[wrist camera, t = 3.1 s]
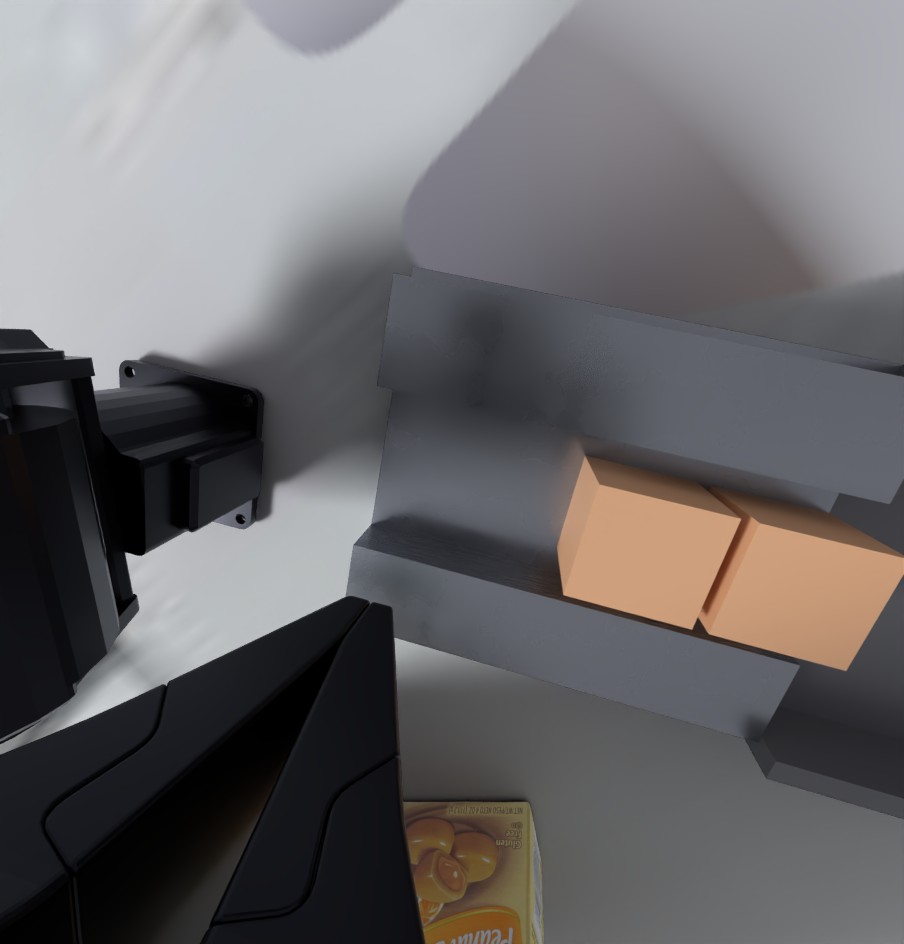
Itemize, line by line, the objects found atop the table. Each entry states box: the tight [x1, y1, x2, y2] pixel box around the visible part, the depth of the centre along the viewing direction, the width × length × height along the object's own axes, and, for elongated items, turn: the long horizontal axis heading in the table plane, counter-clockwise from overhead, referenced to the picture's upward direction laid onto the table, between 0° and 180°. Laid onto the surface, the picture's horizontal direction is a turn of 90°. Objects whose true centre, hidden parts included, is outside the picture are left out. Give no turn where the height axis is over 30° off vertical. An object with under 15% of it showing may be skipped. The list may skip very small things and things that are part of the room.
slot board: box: [346, 267, 904, 743], centre depth 16 cm, size 16×14×3 cm
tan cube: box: [698, 485, 904, 671], centre depth 14 cm, size 4×4×4 cm
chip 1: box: [557, 456, 741, 630], centre depth 15 cm, size 4×4×4 cm
